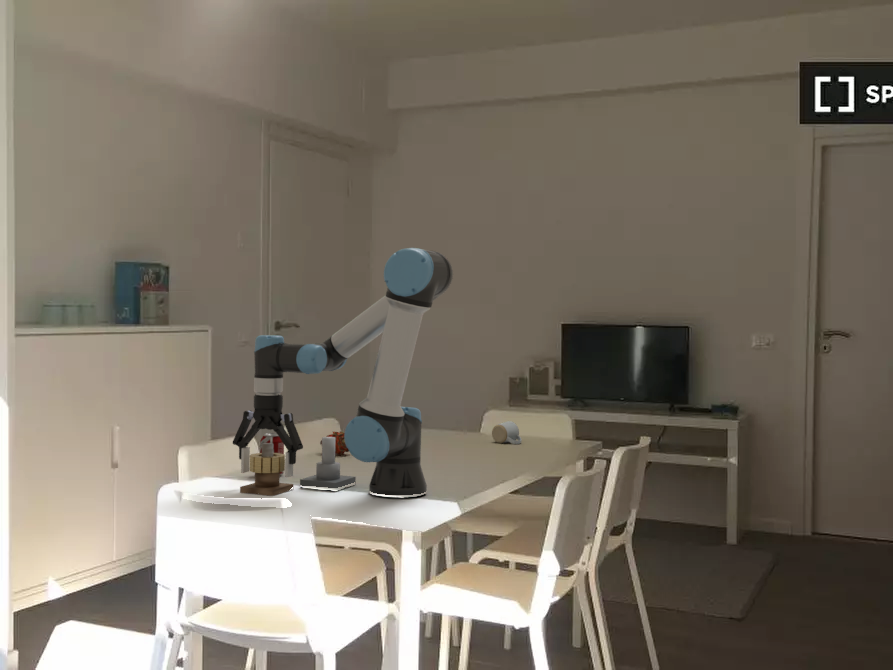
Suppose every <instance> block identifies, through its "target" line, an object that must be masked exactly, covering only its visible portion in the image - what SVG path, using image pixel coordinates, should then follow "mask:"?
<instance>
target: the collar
mask: <svg viewBox="0 0 893 670" xmlns="http://www.w3.org/2000/svg"><path fill="white" fill-rule="evenodd" d="M285 454H286V453H284V454H280V453H273V456H270V457H264V456H262V453H260V452H257V453H250V460H249V472H252V473H254V474H255V473H278V472H283V471H284V472H285Z"/></svg>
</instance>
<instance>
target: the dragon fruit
mask: <svg viewBox="0 0 893 670" xmlns="http://www.w3.org/2000/svg"><path fill="white" fill-rule="evenodd" d="M344 434H345V431H343V430H342V431H341V430H339V431H332V433H331V434H328V435H326V436H325V437H335V455H336V454H337V455H338V456H344V454H345V453H350V452H349V450H348V448H347V447H346V444H345V439H344ZM319 444H320V446H322V439H320V442H319Z"/></svg>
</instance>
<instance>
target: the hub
mask: <svg viewBox="0 0 893 670" xmlns="http://www.w3.org/2000/svg"><path fill="white" fill-rule="evenodd" d="M321 440H322V445H321V461H318V462H316V464H315V466H316V473H315V474H313V475H311V476H308V477H304V478H300V479H299V486H300V485H302V486H316V487H328V488H338V487H342V486H345V485H348V484H351V483H354V482H355V483H356V481H357V480H356V479H357V476H351V475H341V463H340V462H338V461H336V454H335V437H326V436H323V437H321Z"/></svg>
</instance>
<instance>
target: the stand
mask: <svg viewBox="0 0 893 670" xmlns="http://www.w3.org/2000/svg"><path fill="white" fill-rule="evenodd" d="M262 456H264V457H270V456H273V443H263V444H262ZM280 477H281V476H280V472H278V473H254V482H253V483H250V484H245V485H242V486H241V485H240V486H239V493H241V494H248V495H249V494H253V495H259V496H261V495H262V496H269V497H273V496H277V495H278V496H279V495H281V494H283V493H284V494H285V493H287V492H290V491H289V490H290V489H291V488H292V487H293V488H294V484H293V483H286V482H280Z"/></svg>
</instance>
